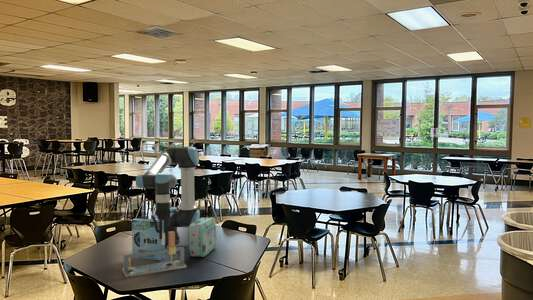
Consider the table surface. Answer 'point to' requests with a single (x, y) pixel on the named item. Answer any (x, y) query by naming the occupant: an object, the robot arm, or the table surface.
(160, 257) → the gum box
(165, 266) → the plate
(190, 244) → the lunch box
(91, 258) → the table surface
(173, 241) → the cursor
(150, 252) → the clear acrylic panel
